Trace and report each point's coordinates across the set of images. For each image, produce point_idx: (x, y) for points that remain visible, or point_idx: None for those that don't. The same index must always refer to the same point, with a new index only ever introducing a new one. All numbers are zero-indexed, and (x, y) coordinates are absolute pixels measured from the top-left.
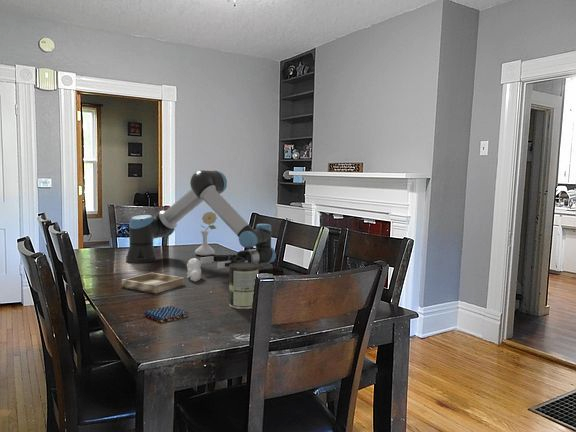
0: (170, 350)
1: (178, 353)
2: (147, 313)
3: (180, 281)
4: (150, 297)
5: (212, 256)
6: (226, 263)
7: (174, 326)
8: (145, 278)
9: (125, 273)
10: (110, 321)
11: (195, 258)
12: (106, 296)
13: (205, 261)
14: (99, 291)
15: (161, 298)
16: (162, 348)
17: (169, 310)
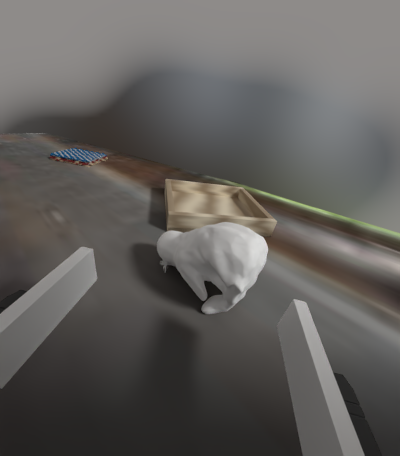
0: (33, 136)
1: (23, 134)
2: (104, 157)
3: (167, 213)
4: (154, 183)
5: (341, 440)
6: (18, 291)
7: (53, 150)
8: (257, 216)
9: (361, 247)
10: (127, 154)
11: (239, 232)
12: (205, 180)
13: (289, 352)
14: None
15: (135, 183)
16: (42, 137)
17: (78, 154)
